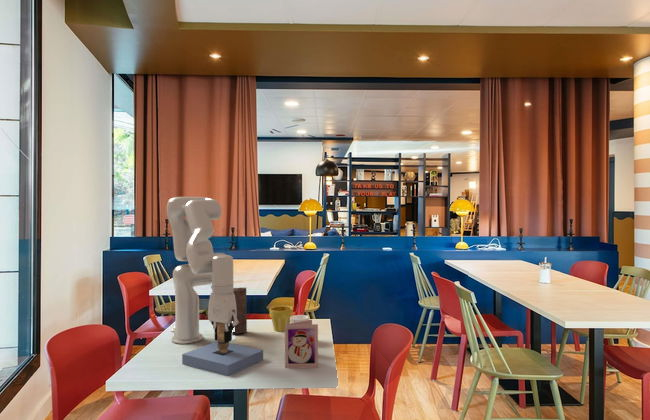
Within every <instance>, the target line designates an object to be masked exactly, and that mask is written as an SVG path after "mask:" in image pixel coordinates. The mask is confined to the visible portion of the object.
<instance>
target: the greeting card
mask: <svg viewBox="0 0 650 420" xmlns="http://www.w3.org/2000/svg"><path fill="white" fill-rule="evenodd" d="M284 368H285V369H292V368H295V369H297V368H299V369H300V368H301V369H302V368H304V369H306V368H308V369H309V368H314V369H315V368H317V369H318V368H319V324H317V323H314V324H313V319H309V320H307V321H301V322H296V323H291V324H285V331H284Z"/></svg>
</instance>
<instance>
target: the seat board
mask: <svg viewBox="0 0 650 420" xmlns="http://www.w3.org/2000/svg"><path fill="white" fill-rule="evenodd" d="M181 356H182V358H181V359H182V361H181V363H182V365H185V366H189V367H192V368H196V369H200V370H205V371H207V372H212V373H215V374H219V375H224V376H227V377H229V376H231V375H234V374H235V373H237V372H240V371H242V370H244V369H247V368H248V367H250V366H251V367H252V366H253V365H255V364H257V363H259V362H261V361H263V360H264V350H263V349H259V348H256V347H255V348H254V347H249V346H246V345H240V344H237V343H236V344H235V343H230V342H229V347H228V352H227V353H224V354H220V353H219V348H218V347H217V341H214V342H212V343H209V344H206V345H203V346H201V347H198V348H196V349H191V350H190V351H187V352H184V353H182V354H181Z"/></svg>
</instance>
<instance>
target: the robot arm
mask: <svg viewBox="0 0 650 420" xmlns="http://www.w3.org/2000/svg"><path fill="white" fill-rule="evenodd" d="M222 212H223V211H222V206H221V204H220V203H219V201H218V200H216V199H214V198H210V197H207V196H175V197H172V198H170V199H168V201H167V203H166V215H167V220H168V222H169V225H170V227H171V230H172V243H173V250H174V251H173V252H174V258H175V259H176V260H177V261H179V262H187V264H186V263H185V264H180V265H178V266H176V267H175V268H174V269H173V270H172V280H173V285H174V296H175V297H174V298H175V299H174V300H175V301H174V303H175V304H174V305H175V308H174V309H175V314H174V315H175V316H174V317H175V325H174V327H173V328H172V329H171V330H170V332H171V333H173V336H172V337H171V341H172V342H173V343H174V344H178V345H179V344H180V345H182V344H185V345H186V344H193V343H198V342H199V341H202V340H203V339H204V335H203V334H202V333H200V297H199V294H198V292H197V291H196V290H195V289H194V287H198V286H199V287H200V286H208V285H211V286H210V289H211V292H210V295H209V300H208V309H207V310H208V312H207V314H208V315H207V316H208V318H207V320H208V321H209V322H210V324H211V325H212V328H213V330H214V342H217V322H219V323H225V330H226V331H224V342H225V343H227V342H229V343H230V342H231V341H232V340H233V339H232V338H233V337H232V336H233V333H232V330H233V328H234V327H235V326H236V325H237V324H238V323H239V322H238V320H237V309H236V300H235V294H234V293H233V288H234V257H233V256H232V255H229V254H226V253H224V252H214V249H213V247H214V246H213V245H212V242H211V240H210V238H211V237H212V236H213V235H214V234H215V233H214V232H215V228H214V226H213V225H214V224H213V222H212V221H217V220H219V219H221V216H222ZM232 321H233V323H232ZM228 324H229V326H228Z"/></svg>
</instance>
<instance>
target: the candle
mask: <svg viewBox="0 0 650 420" xmlns="http://www.w3.org/2000/svg"><path fill="white" fill-rule="evenodd" d="M233 293H234V294H235V300H236V309H237V320H238V322H239V323H238V324H237V325H236V326H235V333H234V334H242V333H247V332H248V329H247V328H248V323H247V321H248V320H247V319H248V317H247V315H248V314H247V312H248V311H247V287H233Z"/></svg>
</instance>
